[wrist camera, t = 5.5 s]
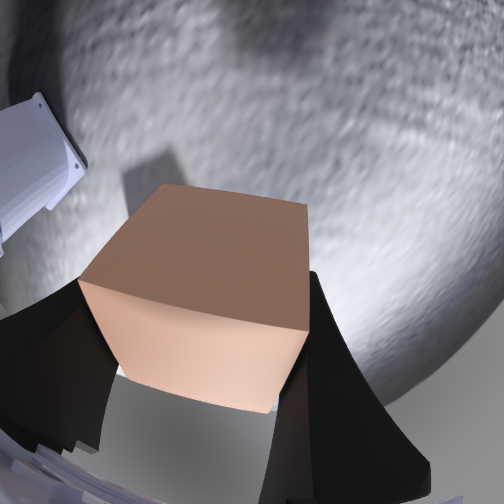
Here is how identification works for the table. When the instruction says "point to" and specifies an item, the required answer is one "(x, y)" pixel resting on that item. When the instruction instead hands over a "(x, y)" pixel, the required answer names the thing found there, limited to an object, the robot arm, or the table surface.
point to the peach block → (206, 294)
